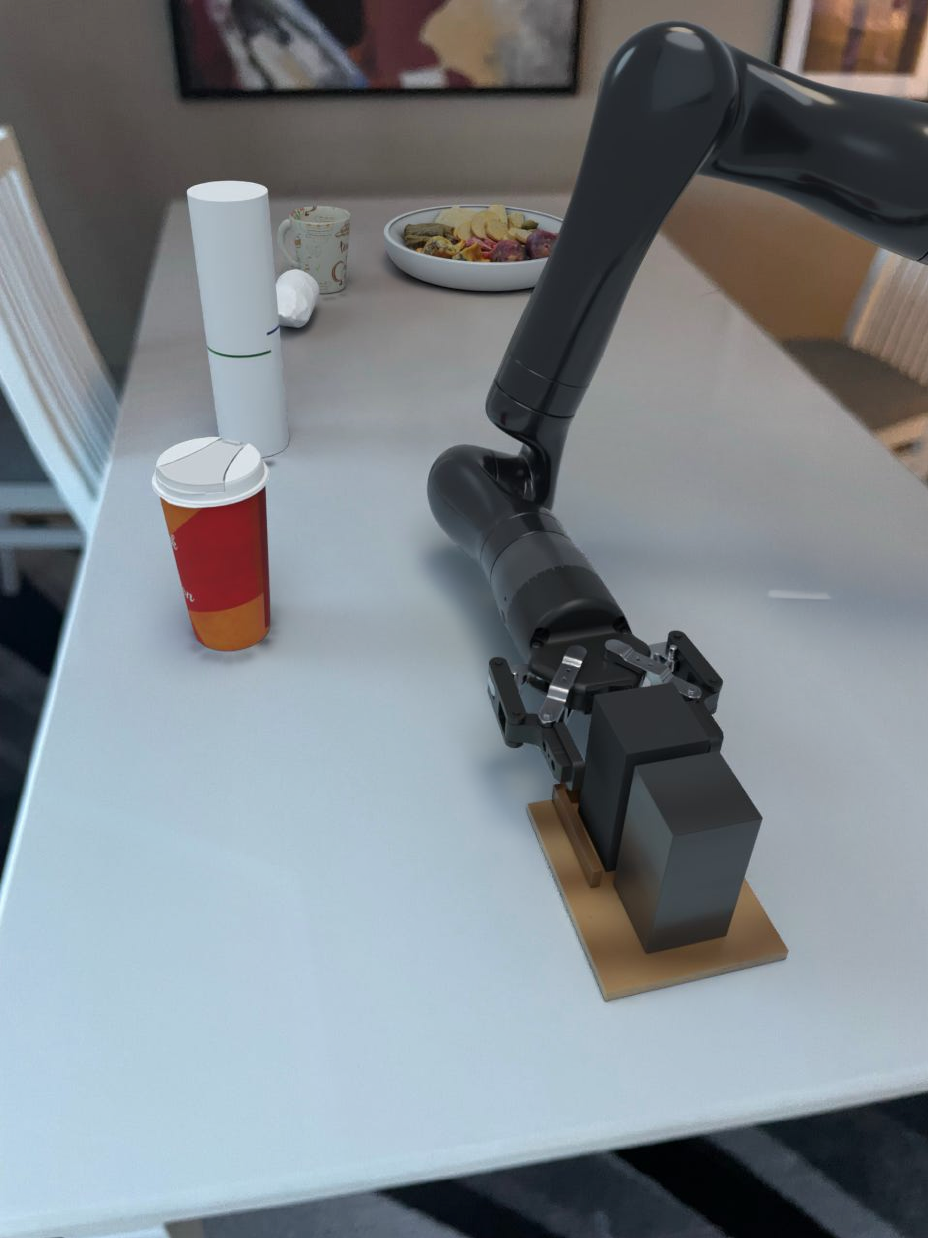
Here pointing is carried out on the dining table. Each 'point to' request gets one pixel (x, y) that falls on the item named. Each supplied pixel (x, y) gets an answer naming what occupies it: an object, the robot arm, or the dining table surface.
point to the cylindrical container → (240, 311)
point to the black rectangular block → (630, 755)
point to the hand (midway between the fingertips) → (647, 767)
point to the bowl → (473, 245)
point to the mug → (319, 244)
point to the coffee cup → (219, 537)
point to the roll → (296, 297)
